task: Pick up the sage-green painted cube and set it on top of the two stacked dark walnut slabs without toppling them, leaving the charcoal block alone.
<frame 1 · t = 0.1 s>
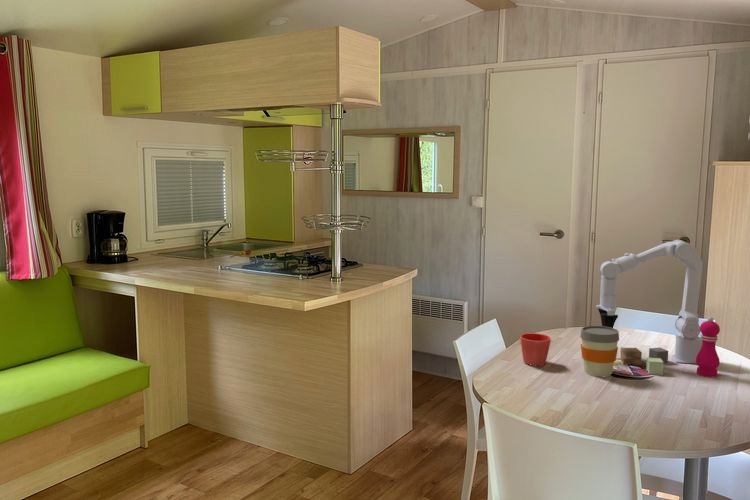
hand: (606, 330, 236), 10 cm above the table, tool pointing down, fingers open, 7 cm apart
reusable coffee cup: (598, 372, 220), on the table
green cube: (654, 372, 220), on the table
charcoal block: (658, 361, 232), on the table
flower pot: (534, 363, 231), on the table
base slab: (630, 363, 231), on the table, touching top slab
pepper mill: (706, 374, 217), on the table
top slab: (630, 356, 230), point 2 cm above the table, touching base slab
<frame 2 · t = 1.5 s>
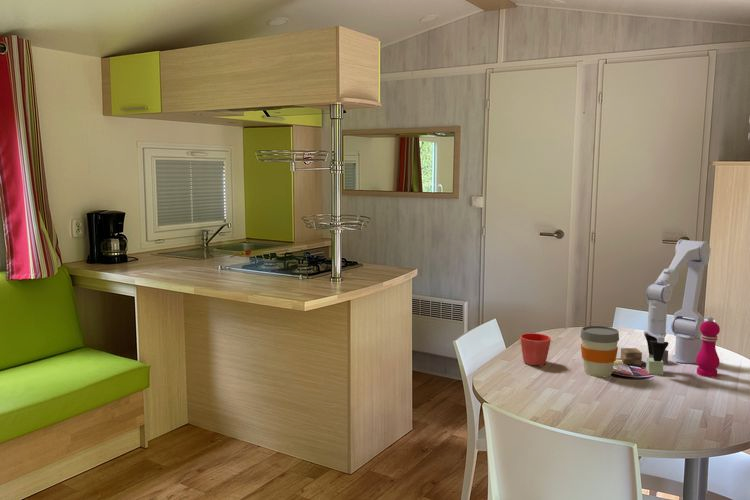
hand: (654, 357, 219), 5 cm above the table, tool pointing down, fingers open, 7 cm apart
nothing on the table moved.
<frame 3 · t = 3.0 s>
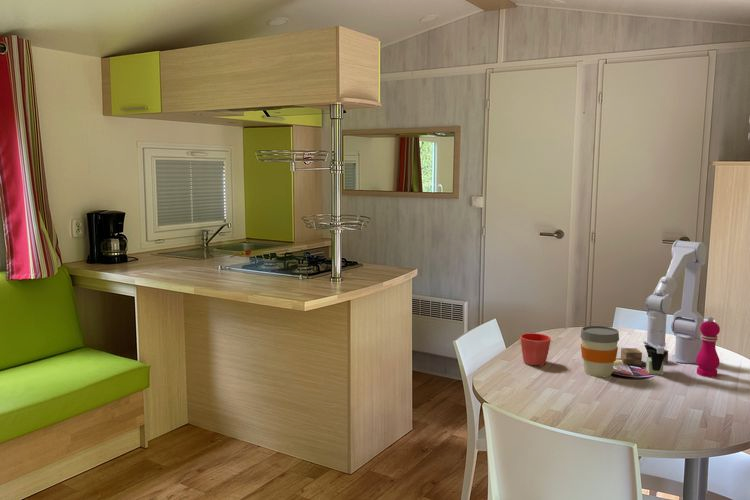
hand: (654, 368, 220), 1 cm above the table, tool pointing down, fingers closed on green cube, 4 cm apart
green cube: (654, 372, 220), on the table, touching gripper
everything else where it was.
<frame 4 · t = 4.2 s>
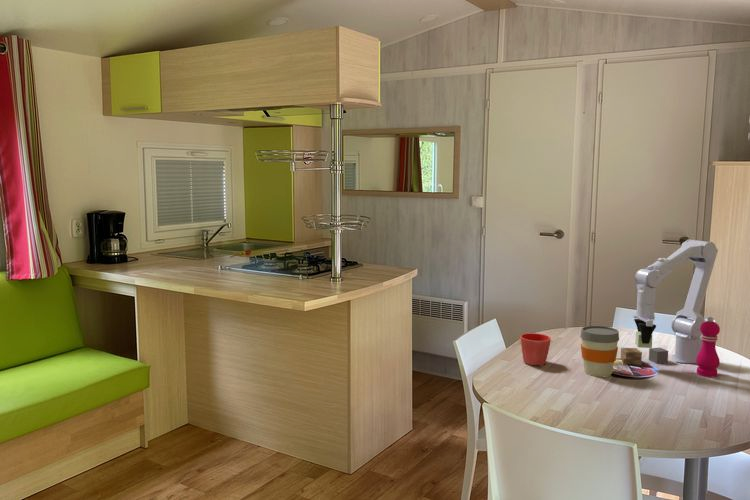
hand: (643, 341, 224), 9 cm above the table, tool pointing down, fingers closed on green cube, 4 cm apart
green cube: (643, 345, 224), point 8 cm above the table, touching gripper
everything else where it was.
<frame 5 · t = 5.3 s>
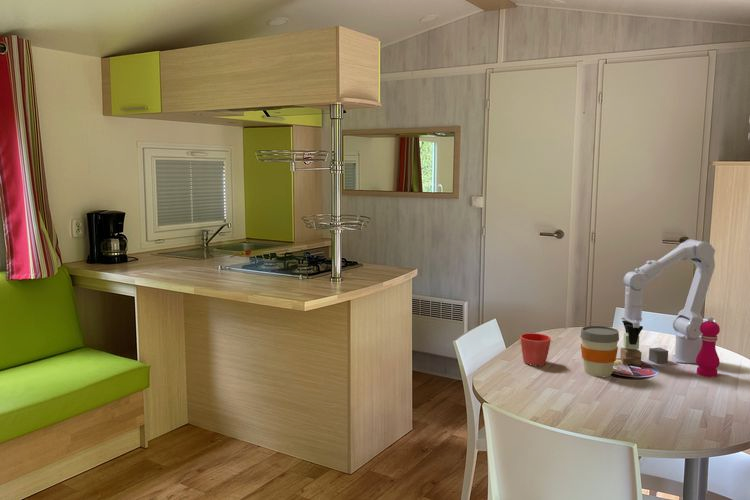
hand: (631, 342, 230), 7 cm above the table, tool pointing down, fingers closed on green cube, 4 cm apart
green cube: (630, 346, 230), point 6 cm above the table, touching gripper
everything else where it was.
when the fingers open (7 cm above the table, at t = 5.9 s): green cube drops 1 cm, resting on top slab.
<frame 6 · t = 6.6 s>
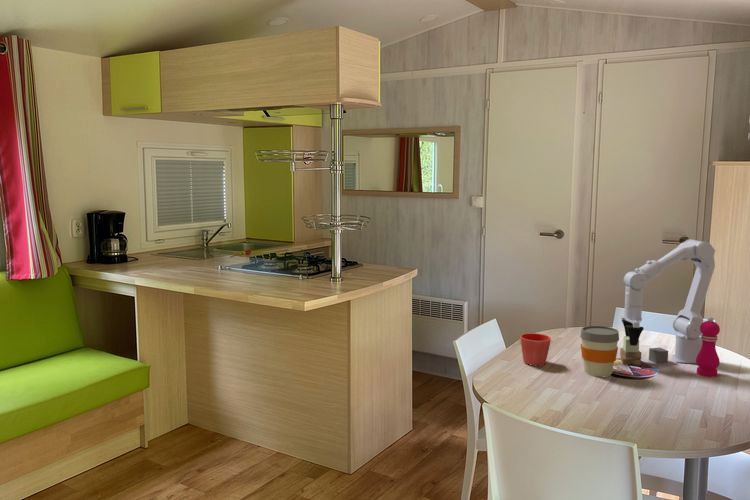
hand: (631, 342, 230), 7 cm above the table, tool pointing down, fingers open, 7 cm apart
green cube: (630, 350, 230), point 4 cm above the table, touching top slab
top slab: (630, 357, 230), point 2 cm above the table, touching base slab, green cube
everything else where it was.
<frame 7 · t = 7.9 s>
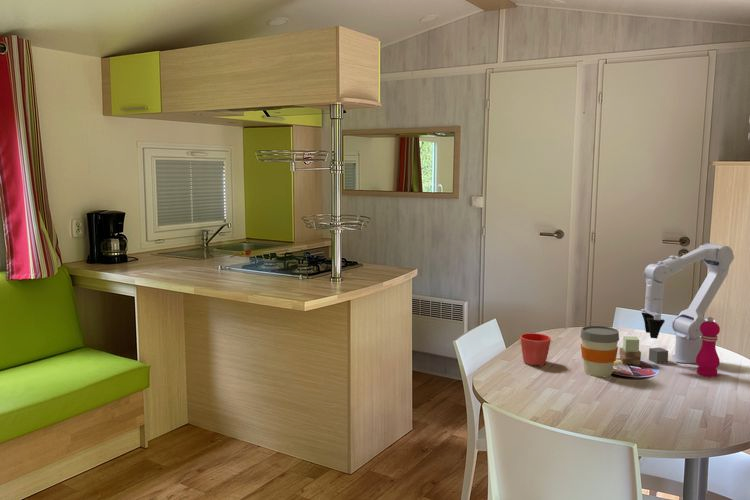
hand: (651, 335, 228), 10 cm above the table, tool pointing down, fingers open, 7 cm apart
nothing on the table moved.
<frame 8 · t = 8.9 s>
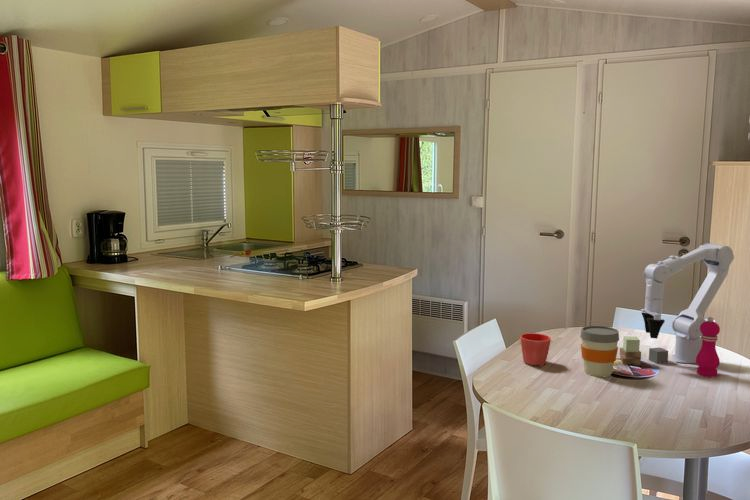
hand: (651, 335, 228), 10 cm above the table, tool pointing down, fingers open, 7 cm apart
nothing on the table moved.
at the end: green cube 0.3 cm off-centre on the top slab, point 2.5 cm above the top slab's base; top slab 0.1 cm off-centre on the base slab, point 2.5 cm above the base slab's base; green cube tilted 0° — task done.
